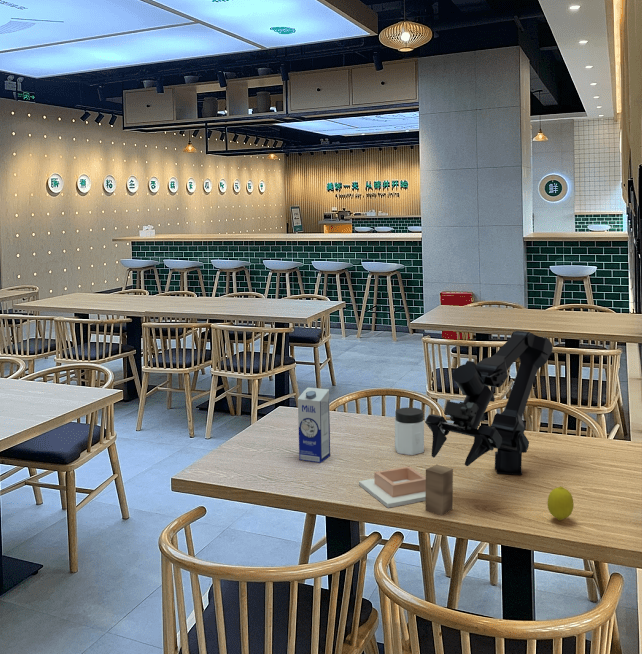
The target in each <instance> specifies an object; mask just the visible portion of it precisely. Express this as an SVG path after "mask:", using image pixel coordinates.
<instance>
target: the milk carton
mask: <svg viewBox="0 0 642 654" xmlns="http://www.w3.org/2000/svg"><path fill="white" fill-rule="evenodd" d="M297 415H298V416H297V417H298V419H297V420H298V424H297V425H298V455H299V456H298V459H299V461H302V460H304V461H305V462H309V461H310V462H311V463H316V464H317V463H318V464H321V463H322V462H324V461H325V460H327V459H328V458H329V457H331V427H330V426H331V424H330V421H331V420H330V419H331V417H330V415H331V413H330V389H328V388H320V387H319V388H318V387H317V388H316V387H306V389H304V390H303V392H302V393H301V394H300V395H299V396H298V398H297Z"/></svg>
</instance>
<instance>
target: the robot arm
mask: <svg viewBox="0 0 642 654" xmlns="http://www.w3.org/2000/svg"><path fill="white" fill-rule="evenodd" d="M553 350H554V349H553V343H552V341H550V339H549V338H548V337H542V336H539V335H536V334H534V333H533V332H530V331H525V330H524V331H523V330H514V331H513V332H512V334H511V336H510V338H509V339H508V340H507V341H506V342H505V343H503V345H502V346H501V347H500V348H499V349H498V350H497V351H496V353H495V354H494V355H491V356H489V357H485V358H482V360H480V361H478V362H477V363H476V362H475V361H472V360H471V361H470V360H466V362H465V363H463V364H461V365H459V366H458V367H457V368H455V369H454V370H453V372H452V379H453V380H454V383H455V384H456V385H457V387H458V389H459V390H460V392H461V393H462V394H463V395H464V396H465V397H464V399H463V401H459V402H454V401H448V400H447V401H446V403H445V404H446V405H445V408H444V412H443V414H444V415H448V416H450V417H449V419H450V421H451V422H453V423H451V422H448V421H447V420H446V418H445V417H444V416H442V415H439V414H432V413H431V414H429V415H428V416H427V417H426V419H425V421H424V424H426V426H427V427H428V428H429V430H430V431H431V432H432V444H431V445H432V446H431V458H435V457H436V456H437V455H438V454H439V452H440V451H441V449H442V447H444V444H445V442H446V441H447V440H448V438H447V436H448V435H449V433H450V432H451V433H456V434H459V435H460V434H461V435H465V436H469V437H473V438H474V439H473V444H472V445H471V447H470V450H469V452H468V454H467V456H466V458H465V461H464V466H465V467H469V466H470V465H471V464H473V462H475V461H476V460H477V459H479V458H480V457H482V456H484V455H485V454H486V453H488V452H489V451H494V449H495V450H496V449H497V450H496V451H494V469H495V470H496V474H501V475H518V476H521V475H523V471H522V469H523V468H522V462H523V460H522V459H523V455H522V454H523V453H527V452H528V450H529V446H530V441H529V438H528V437H527V436H526V435H525V431H526V429H525V428H526V427H525V425H524V421H523V415H524V412H525V409H526V406H527V403H528V401H529V398H530V395H531V391H532V389H533V385H534V381H535V379H536V377H537V373H538V370H540V368H542V367H543V366H545V364H547V362H548V360H549V358H550V356H551V355H552V353H553ZM518 358H519V359H518ZM517 360H519V362H520V363H519V367H518V369H517V373H516V375H515V377H514V380H513V381H514V382H513V384H512V387H511V391H510V393H509V396H508V399H507V401H506V404H505V407H504V410H503V411H502V412H500V413H499V412H496V413H495V414H494V416H493V420H492V423H491V424H490V425H485V424H481V422H485V420H486V416H485V413H486V411H487V409H488V406H489V405H490V402H492V403H494V402H495V401H496V398H495V395H494V391H493V390H491V388H490V387H493V388H501V387H502V386H503V384H504V383H505V382H506V380H507V378H508V375H509V374H508V370H509V368H510V367H512V365H513V364H514V363H515V362H516V361H517ZM480 424H481V425H480Z"/></svg>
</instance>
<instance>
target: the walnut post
mask: <svg viewBox="0 0 642 654" xmlns="http://www.w3.org/2000/svg"><path fill="white" fill-rule="evenodd" d="M425 477H426V501H425V511H426V512H430V513H431V514H432V513H433V514H436V515H438V516H443V515H445V514H447V513H449V512H450V511H452V510H453V491H454V490H453V489H454V487H453V486H454V479H453V478H454V468H451V467H448V466H443V465H439V464H435V465H433V466H431V467H429V468H426V469H425Z"/></svg>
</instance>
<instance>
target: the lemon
mask: <svg viewBox="0 0 642 654" xmlns="http://www.w3.org/2000/svg"><path fill="white" fill-rule="evenodd" d="M573 509H574V499H573V495H572V493H571V492H570V491H569V490H568V489H567V488H565V487H563V486H558V487H555V488H553V489H552V490H551V491H550V492H549V495H548V497H547V510H548V511H549V513H550V515H551V516H552V517H553V518H556V519H557V520H558V521H560V520H561V521H563V520H564V519H566V518H568V517H570V516H571V514H572V512H573Z"/></svg>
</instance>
